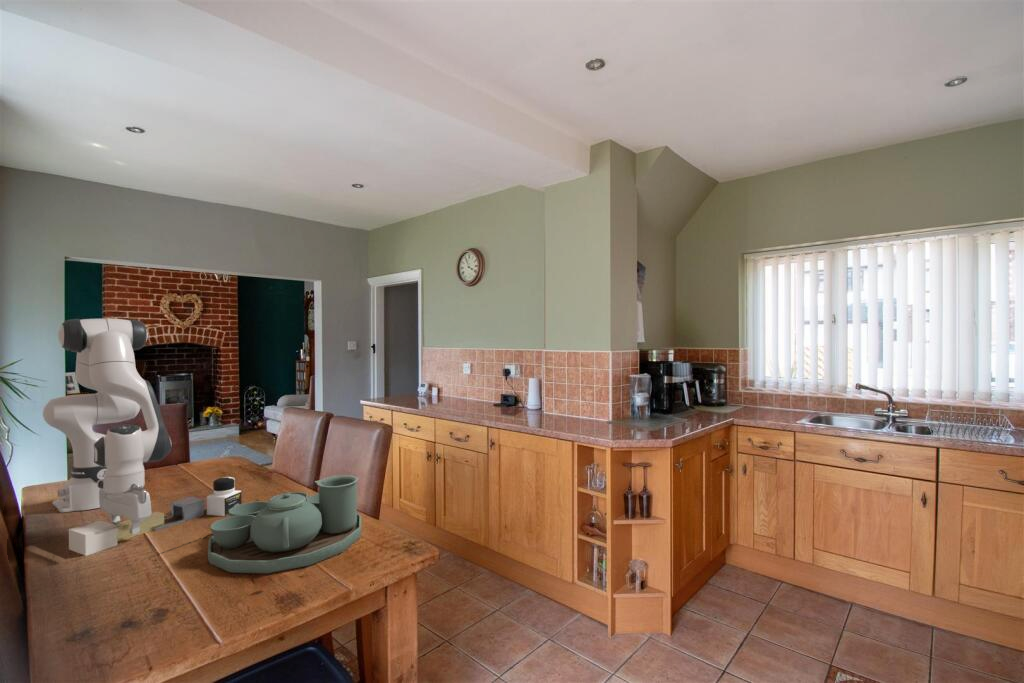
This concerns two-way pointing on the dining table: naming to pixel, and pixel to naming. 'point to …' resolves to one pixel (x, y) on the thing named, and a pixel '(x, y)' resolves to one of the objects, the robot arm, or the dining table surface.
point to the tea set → (288, 529)
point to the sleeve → (184, 511)
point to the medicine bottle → (223, 497)
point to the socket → (92, 537)
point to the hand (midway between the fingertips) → (125, 530)
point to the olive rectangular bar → (146, 526)
